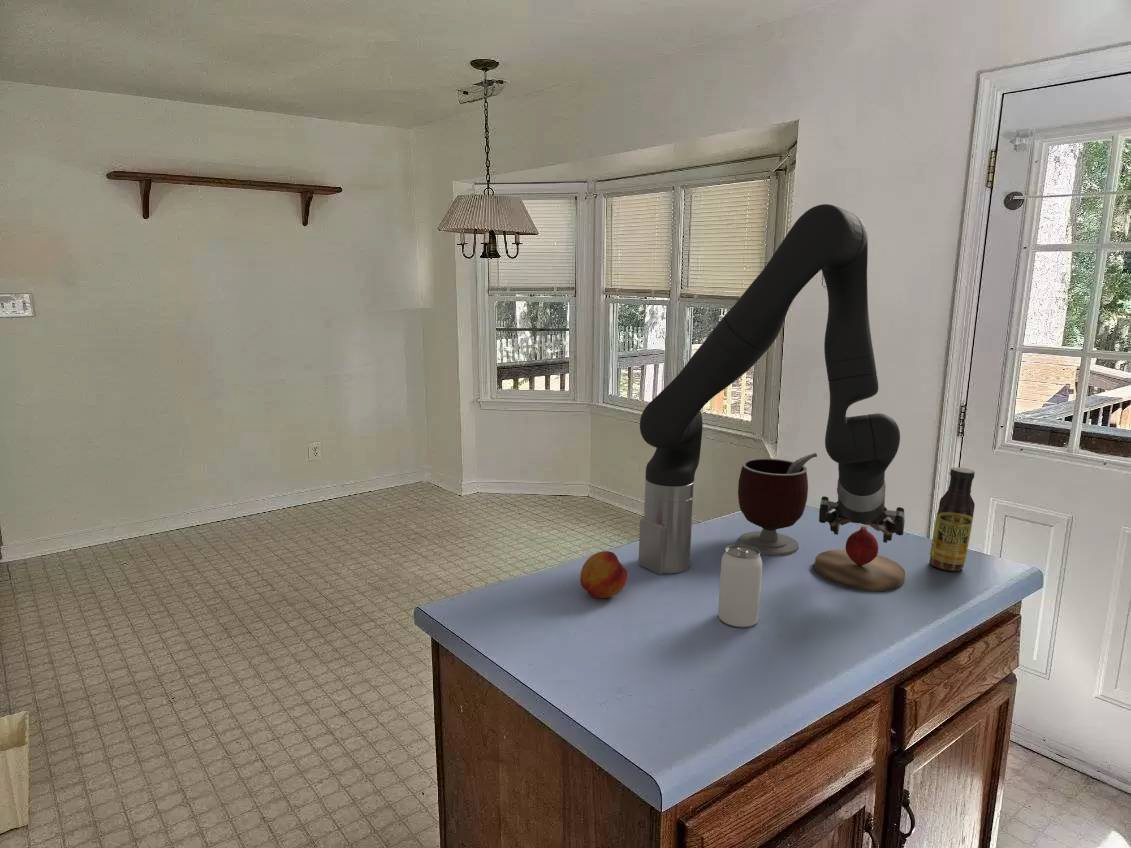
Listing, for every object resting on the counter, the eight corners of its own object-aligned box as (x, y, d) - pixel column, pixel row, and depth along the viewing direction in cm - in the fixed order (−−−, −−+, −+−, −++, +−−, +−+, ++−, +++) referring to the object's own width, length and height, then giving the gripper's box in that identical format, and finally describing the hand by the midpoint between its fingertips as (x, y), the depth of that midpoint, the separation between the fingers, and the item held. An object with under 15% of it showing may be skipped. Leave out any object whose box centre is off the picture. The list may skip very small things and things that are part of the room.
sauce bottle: (929, 569, 141) (942, 471, 137) (927, 558, 146) (939, 463, 142) (967, 575, 138) (981, 475, 134) (963, 563, 144) (977, 467, 140)
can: (759, 614, 121) (764, 546, 119) (756, 631, 115) (761, 561, 113) (720, 607, 124) (724, 541, 121) (715, 624, 118) (719, 555, 115)
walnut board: (876, 598, 128) (877, 590, 128) (798, 569, 140) (798, 561, 140) (920, 576, 138) (921, 568, 137) (843, 550, 150) (843, 543, 150)
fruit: (622, 608, 123) (624, 564, 121) (576, 603, 125) (576, 559, 123) (628, 589, 130) (630, 547, 129) (584, 584, 132) (585, 542, 130)
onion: (881, 572, 135) (885, 532, 134) (850, 571, 136) (854, 531, 134) (869, 560, 141) (873, 521, 139) (839, 559, 141) (843, 520, 140)
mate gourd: (743, 556, 146) (750, 461, 142) (727, 532, 159) (733, 444, 155) (820, 557, 146) (829, 461, 142) (797, 533, 160) (805, 445, 155)
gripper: (909, 478, 122) (904, 522, 134) (821, 467, 128) (824, 510, 140) (904, 517, 118) (900, 559, 131) (813, 504, 124) (817, 545, 137)
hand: (860, 534), depth 135 cm, fingers open, 8 cm apart
